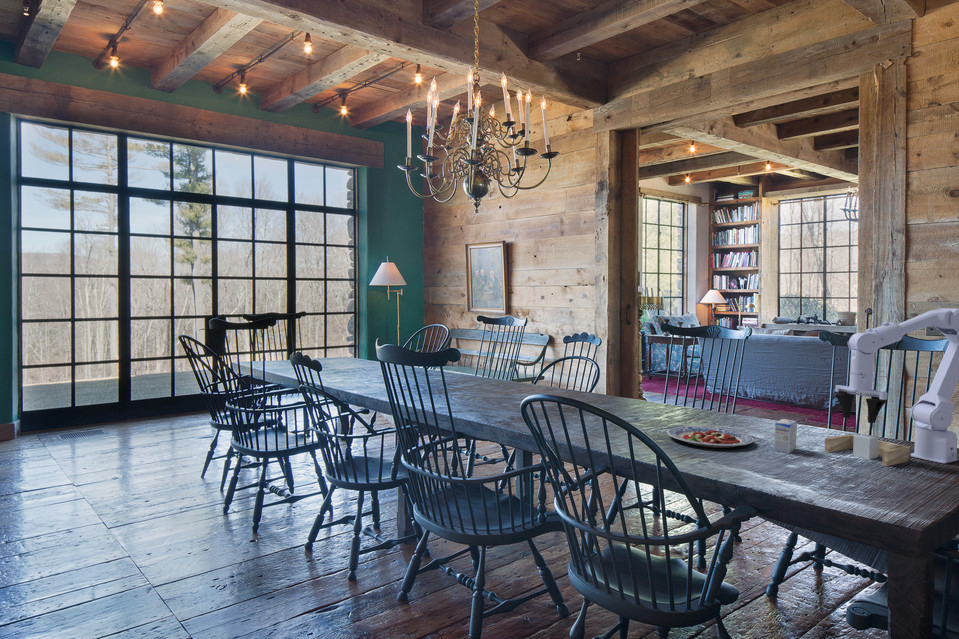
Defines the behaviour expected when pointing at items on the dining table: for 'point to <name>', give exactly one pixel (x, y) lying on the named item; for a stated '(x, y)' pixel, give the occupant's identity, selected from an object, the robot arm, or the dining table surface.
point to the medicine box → (785, 435)
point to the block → (865, 446)
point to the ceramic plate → (710, 436)
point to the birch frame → (887, 450)
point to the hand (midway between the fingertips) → (858, 420)
